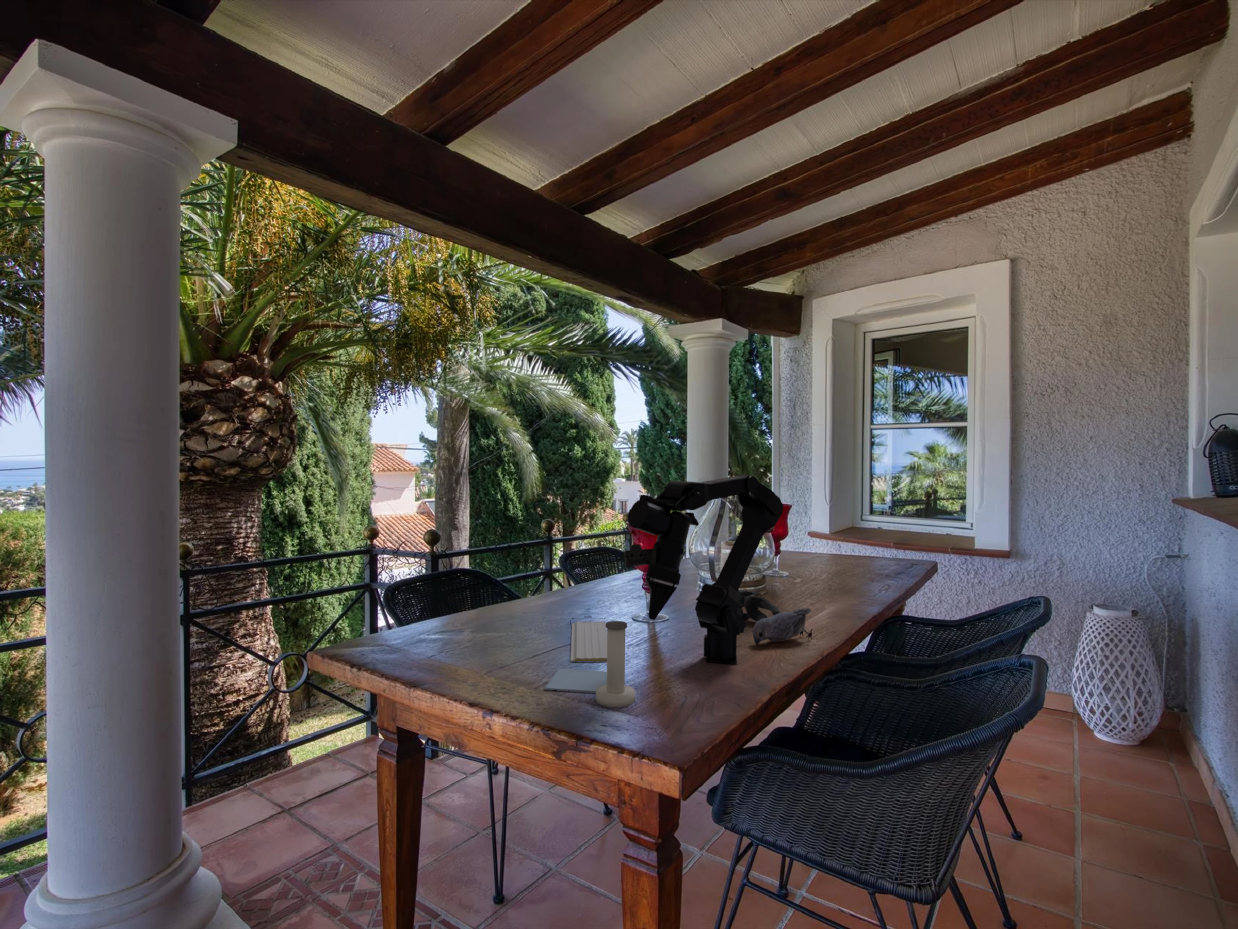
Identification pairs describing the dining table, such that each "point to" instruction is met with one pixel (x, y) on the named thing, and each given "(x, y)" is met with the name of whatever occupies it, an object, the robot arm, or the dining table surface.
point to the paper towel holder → (615, 669)
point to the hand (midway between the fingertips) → (651, 618)
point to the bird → (781, 626)
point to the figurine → (754, 605)
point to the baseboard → (589, 640)
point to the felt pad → (577, 680)
